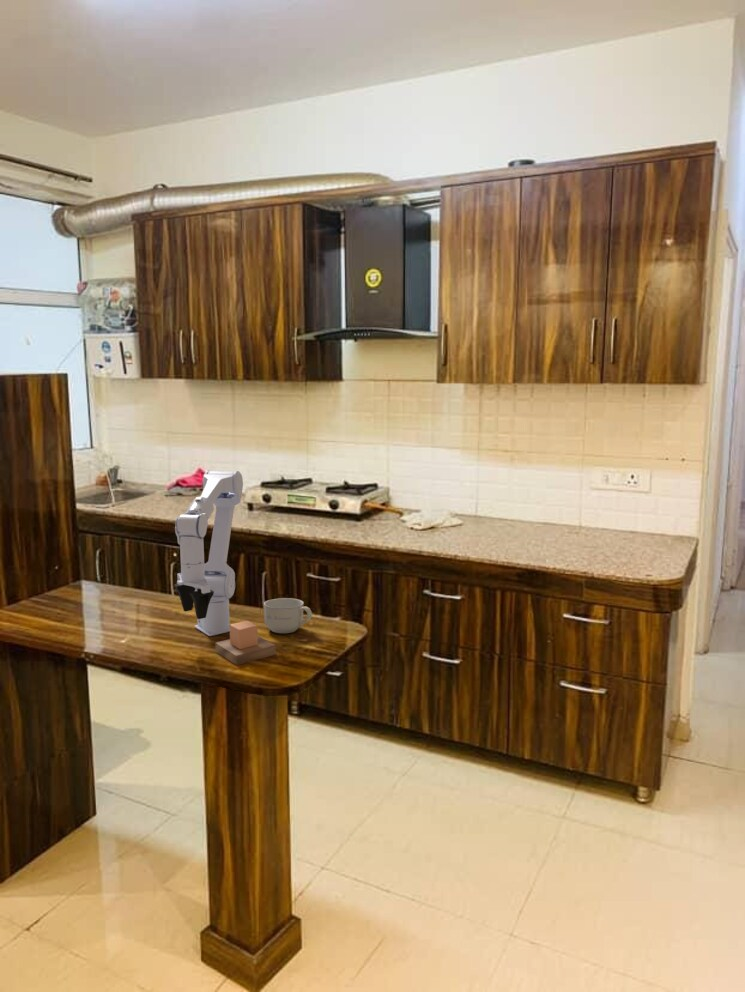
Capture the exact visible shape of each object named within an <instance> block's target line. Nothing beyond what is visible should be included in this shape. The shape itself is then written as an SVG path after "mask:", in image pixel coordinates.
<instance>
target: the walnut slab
mask: <svg viewBox="0 0 745 992" xmlns="http://www.w3.org/2000/svg"><path fill="white" fill-rule="evenodd" d="M257 636H258V645H255V646H251V647H247V648H243V649H239V648H237V647H235V646H233V645H231V644H230V638H229V639H225V640H221V641H217V642H215V653H216V654H218V655H220V656H221V657H223V658H224V657H225V660H228V661H230V662H231V663H233V664H234V665H235V666H238V665H239V666H240V665H243V664H247V663H250V662H253V661H256V660H257V659H258V660H261V659H265V658H268V657H271V656H275V655H277V645H276V644H274V643H272V642H270V641H268V640H267V639H266V638H264V637H262V636H260V635H258V634H257Z"/></svg>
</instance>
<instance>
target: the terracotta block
mask: <svg viewBox="0 0 745 992" xmlns="http://www.w3.org/2000/svg"><path fill="white" fill-rule="evenodd" d="M229 627H230V632H229V639H230V644H231V645H233V646H235V647H237V648H239V649H243V648H247V647H251V646H255V645H258V636H259V635H258V625H257V624H255V623H253V622H251V621H249V620H243V621H240V622H239V621H238V622H235V623H231V624H230V625H229ZM257 635H258V636H257Z"/></svg>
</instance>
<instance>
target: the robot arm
mask: <svg viewBox="0 0 745 992" xmlns="http://www.w3.org/2000/svg"><path fill="white" fill-rule="evenodd" d="M243 480H244V479H243V475H242V473H241V472H240V471H239V470H235V471H230V470H228V471H227V470H226V471H225V470H206V471H205V472H204V473H203V477H202V487H203V489H202V492H201V494H200V496H196V497H194V499H193V501H192V502H191V503H190V505H189V506H188V508H187V510H186V512H185V513H182V514H180V516H177V517H176V518H175V519H176V520H175V525H174V526H175V527H174V531H175V532H174V533H175V535H176V537H177V544H178V545H179V551H180V553H179V554H180V556H179V557H180V572H179V573H177V574H176V575H177V576H176V577H177V581H176V583H175V584H174V585H173V586H174V589H175V591H176V592H177V594H178V597H179V598H180V603H181V606H182V609H183V612H189V611H193V609H194V610H195V612H194V613H195V616H196V619H197V624H195V625H194V628H195V629H197V630H199V631H200V632H201V633H202V634H205V635H207V636H209V637H212V636H217V635H222V634H225V633H230V627H229V625H230V622H231V621H230V599H231V598H232V597H233V596H234V593H235V589H236V580H235V579H236V573H235V571H234V569H233V568H232V567H230V566H229V564H228V563H227V561H228V553H229V546H230V540H231V539H230V538H231V531H232V525H233V518H234V513H235V512H234V511H235V508H236V505H238V504H240V503H241V499H242V495H243V490H244V489H243V487H244V482H243ZM214 507H215V508H216V509H214ZM214 510H215V515H214V521H213V528H212V529H213V530H212V535H211V540H210V548H209V553H208V561H207V562H206V563H205V551H204V550H205V547H204V542H205V541H204V537H205V536H206V534H207V530H208V525H209V519H210V517H211V516H212V514H213V512H214Z"/></svg>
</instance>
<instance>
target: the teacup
mask: <svg viewBox="0 0 745 992" xmlns="http://www.w3.org/2000/svg"><path fill="white" fill-rule="evenodd" d="M304 605H305V604H304V601H303V600H301V599H298V598H293V597H292V598H291V597H290V598H287V597H282V598H274V599H272V598H271V599H269V600H266V601H264V602H263V611H264V613H263V614H264V625H265V626H266V627H267V628H268V629H269V630H270V631H271V632H273V633H276V634H290V633H294V632H296V631H297V630H298V629H299V628H300V627H303V625H304V624H306V623H307V622H309V621H310V620H311V618H312V616H313V614H312V610H311V608H310V607H308V606H306V605H305V606H304ZM304 611H305V612H306V615H307V616H306V617H305V619H304Z"/></svg>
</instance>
